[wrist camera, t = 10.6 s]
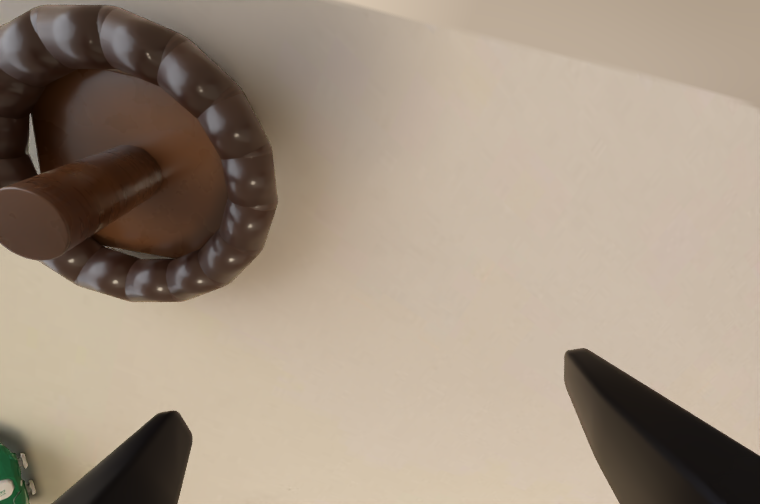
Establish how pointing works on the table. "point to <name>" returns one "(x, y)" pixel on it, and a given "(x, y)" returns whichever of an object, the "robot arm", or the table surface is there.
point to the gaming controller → (13, 478)
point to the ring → (189, 88)
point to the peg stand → (114, 172)
